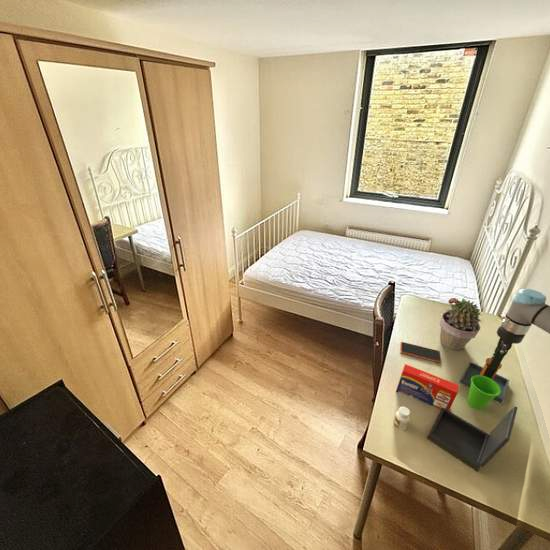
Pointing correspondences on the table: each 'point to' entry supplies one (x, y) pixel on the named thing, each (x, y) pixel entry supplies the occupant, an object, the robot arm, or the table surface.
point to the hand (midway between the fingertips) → (487, 374)
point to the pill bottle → (402, 418)
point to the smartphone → (420, 352)
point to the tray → (500, 380)
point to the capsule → (487, 366)
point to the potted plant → (459, 324)
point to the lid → (499, 436)
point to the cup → (482, 391)
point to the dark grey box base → (459, 438)
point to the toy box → (427, 387)
